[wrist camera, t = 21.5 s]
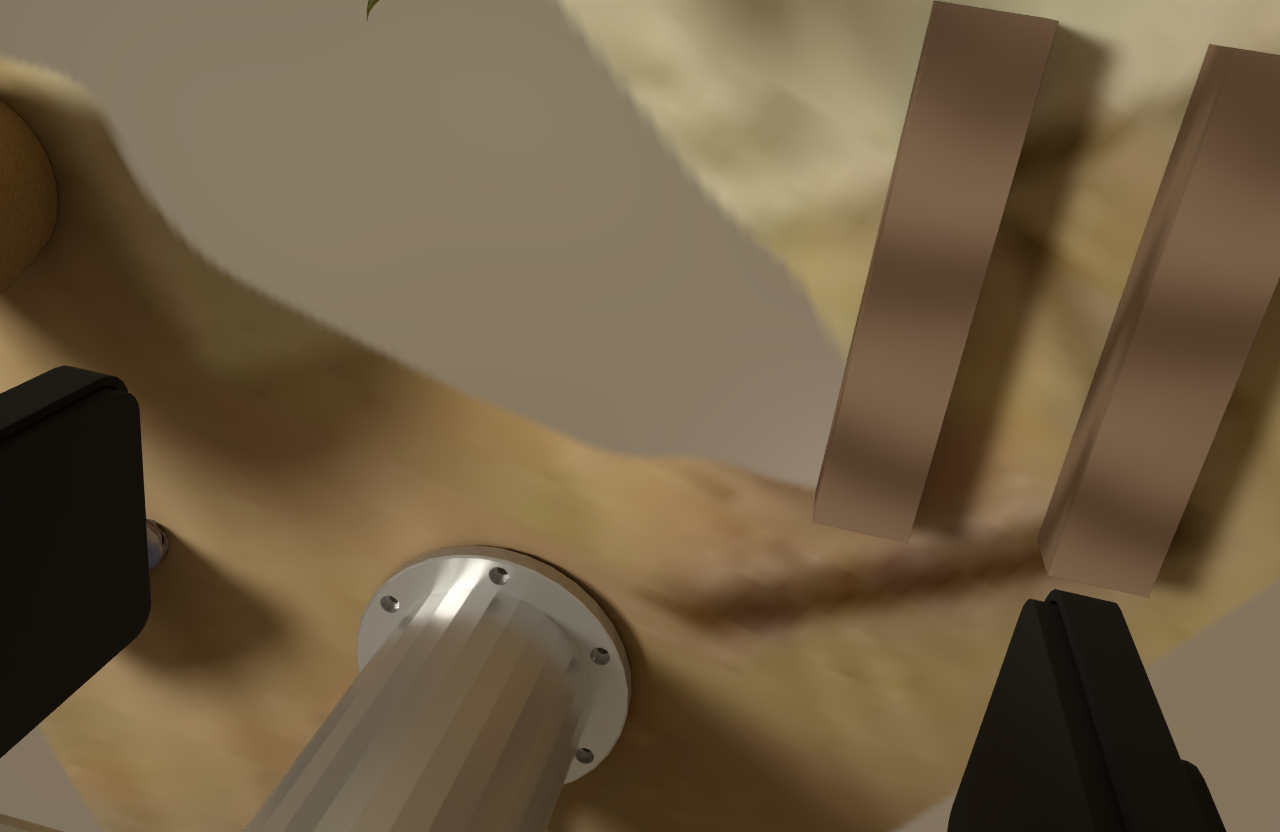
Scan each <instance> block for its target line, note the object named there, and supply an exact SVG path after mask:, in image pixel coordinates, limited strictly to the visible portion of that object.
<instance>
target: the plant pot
mask: <svg viewBox="0 0 1280 832" xmlns="http://www.w3.org/2000/svg"><path fill="white" fill-rule="evenodd" d="M57 206H58V197H57V187H56V182H55V177H54V174H53V170H52V167H51V164H50V162H49V159H48V157H47V155H46V153H45V151H44V149H43V147H42V145H41V143H40V142H39V140H38V139H37V137H36V136H35V134H34V133H33V131H32V130H31V129H30V127H29V126H28V125H27V124H26V123H25V122H24V121H23V120H22V119H21V118H20V117H19V116H18V115H17V114H16V113H15V112H14V111H13V110H12V109H10V108H9V107H8V106H7V105H5V104H4V103H3V102H1V101H0V294H1V293H2V292H3V291H4V290H5V289H6V288H7V287H8V286H9V285H10V284H11V283H12V282H13V281H14V280H15V279H16V278H17V277H18V276H19V275H20V274H21V273H22V272H23V270H24V269H25V268H26V267H27V266H28V265H29V264H30V263H31V262H32V261H33V259H34V258H35V257H36V256H37V255H38V254H39V252H40V251H41V250H42V249H43V247H44V246H45V245H46V243H47V242H48V240H49V238H50V236H51V234H52V231H53V229H54V226H55V222H56V217H57Z"/></svg>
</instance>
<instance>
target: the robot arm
mask: <svg viewBox="0 0 1280 832" xmlns="http://www.w3.org/2000/svg"><path fill="white" fill-rule="evenodd" d="M150 607H151V596H150V579H149V562H148V545H147V528H146V511H145V494H144V478H143V461H142V444H141V427H140V411H139V405H138V402H137V400H136V398H135V397H134V396H133V395H132V394H130V393H128V390H127V388H126V386H125V384H124V382H123V381H122V380H120V379H119V378H118V377H115V376H111V375H106V374H102V373H97V372H93V371H89V370H84V369H80V368H75V367H70V366H65V365H64V366H60V367H57V368H54V369H52V370H50V371H48V372H46V373H43V374H41V375H39V376H37V377H35V378H33V379H31V380H29V381H26V382H24V383H22V384H20V385H18V386H16V387H14V388H12V389H9V390H7V391H5V392H3V393H1V394H0V758H1V757H2V756H3V755H5V754H6V753H7V752H8V751H9V750H10V749H11V748H12V747H14V745H16V744H17V743H18V742H19V741H20V740H21V739H22V738H24V737H25V736H26V735H27V734H28V733H29V732H30V731H32V730H33V729H34V728H35V727H36V726H37V725H38V724H39V723H41V722H42V721H43V720H44V719H45V718H46V717H47V716H48V715H50V714H51V713H52V712H53V711H54V710H55V709H56V708H57V707H59V706H60V705H61V704H62V703H63V702H64V701H65V700H66V699H68V698H69V697H70V696H71V695H72V694H73V693H74V692H75V691H76V690H78V689H79V688H80V687H81V686H82V685H83V684H84V683H85V682H87V681H88V680H89V679H90V678H91V677H92V676H93V675H94V674H96V673H97V672H98V671H99V670H100V669H101V668H102V667H103V666H105V665H106V664H107V663H108V662H109V661H110V660H111V659H112V658H114V657H115V656H116V655H117V654H118V653H119V652H120V651H121V650H123V649H124V648H125V647H126V646H127V645H128V644H129V643H130V642H132V641H133V640H134V639H135V638H136V637H137V636H138V635H139V633H140V632H141V631H142V629H143V627H144V626H145V624H146V621H147V619H148V616H149V612H150ZM356 659H357V664H358V670H359V675H358V676H357V678H356V679H355V680H354V682H353V683H352V684H351V686H350V687H349V689H348V690H347V691H346V693H345V694H344V695H343V697H342V698H341V699H340V701H339V702H338V703H337V705H336V706H335V707H334V709H333V710H332V712H331V713H330V714H329V716H328V717H327V718H326V720H325V721H324V722H323V724H322V725H321V726H320V728H319V729H318V730H317V732H316V733H315V734H314V736H313V737H312V739H311V740H310V741H309V743H308V744H307V745H306V747H305V748H304V749H303V751H302V752H301V753H300V755H299V756H298V757H297V759H296V760H295V761H294V763H293V764H292V766H291V767H290V768H289V770H288V771H287V772H286V774H285V775H284V776H283V778H282V779H281V780H280V782H279V783H278V784H277V786H276V787H275V789H274V790H273V791H272V793H271V794H270V795H269V797H268V798H267V799H266V801H265V802H264V803H263V805H262V806H261V807H260V809H259V810H258V811H257V813H256V814H255V816H254V817H253V818H252V820H251V821H250V822H249V824H248V825H247V826H246V828H245V829H244V830H243V832H546V829H547V827H548V824H549V821H550V819H551V816H552V814H553V811H554V808H555V806H556V803H557V801H558V798H559V795H560V793H561V790H562V788H563V785H566V784H568V783H571V782H573V781H576V780H578V779H579V778H581V777H582V776H584V775H586V774H587V773H589V772H590V771H592V770H593V769H595V768H596V767H597V766H598V765H599V764H600V763H601V762H602V761H603V760H604V759H605V758H606V757H607V756H608V755H609V754H610V752H611V750H612V749H613V747H614V745H615V744H616V742H617V740H618V738H619V737H620V735H621V732H622V729H623V726H624V724H625V721H626V718H627V715H628V711H629V705H630V699H631V694H632V688H631V670H630V666H629V662H628V659H627V655H626V651H625V648H624V645H623V643H622V641H621V639H620V637H619V635H618V633H617V631H616V629H615V627H614V625H613V623H612V622H611V621H610V619H609V618H608V617H607V615H606V614H605V613H604V611H603V610H602V609H601V607H600V606H599V605H598V603H597V602H596V601H595V600H594V599H593V598H592V597H590V596H589V595H588V594H587V593H586V592H585V591H584V590H583V589H582V588H581V587H580V586H579V585H578V584H577V583H575V582H574V581H572V580H571V579H569V578H568V577H566V576H565V575H563V574H562V573H560V572H559V571H557V570H556V569H555V568H553V567H551V566H549V565H547V564H544V563H542V562H540V561H538V560H536V559H534V558H531V557H529V556H527V555H523V554H520V553H516V552H513V551H509V550H506V549H502V548H495V547H485V546H476V545H471V546H457V547H447V548H443V549H439V550H436V551H432V552H428V553H425V554H423V555H421V556H419V557H417V558H415V559H413V560H411V561H409V562H407V563H405V564H404V565H402V566H401V567H400V568H399V569H398V570H397V571H395V572H394V573H393V574H392V575H391V576H389V577H388V578H387V579H386V581H385V582H384V583H383V584H382V585H381V587H380V588H379V589H378V590H377V591H376V593H375V594H374V595H373V597H372V599H371V600H370V602H369V604H368V606H367V607H366V609H365V611H364V613H363V615H362V618H361V622H360V626H359V629H358V633H357V647H356ZM0 832H62V831H59V830H56V829H52V828H49V827H45V826H42V825H39V824H35V823H31V822H28V821H24V820H21V819H17V818H14V817H10V816H7V815H3V814H0ZM947 832H1226V830H1225V828H1224V825H1223V822H1222V820H1221V818H1220V815H1219V813H1218V811H1217V809H1216V806H1215V803H1214V801H1213V799H1212V796H1211V794H1210V791H1209V789H1208V787H1207V784H1206V782H1205V780H1204V778H1203V776H1202V775H1201V773H1200V772H1199V770H1198V768H1197V767H1196V766H1195V765H1193V764H1191V763H1190V762H1188V761H1185V760H1181V759H1180V756H1179V754H1178V751H1177V749H1176V746H1175V744H1174V741H1173V739H1172V736H1171V734H1170V731H1169V729H1168V726H1167V724H1166V721H1165V719H1164V716H1163V714H1162V711H1161V709H1160V707H1159V704H1158V701H1157V699H1156V696H1155V694H1154V691H1153V689H1152V686H1151V684H1150V682H1149V679H1148V676H1147V674H1146V671H1145V669H1144V666H1143V664H1142V661H1141V659H1140V656H1139V654H1138V651H1137V649H1136V646H1135V644H1134V641H1133V639H1132V636H1131V634H1130V631H1129V629H1128V626H1127V624H1126V621H1125V619H1124V616H1123V614H1122V611H1121V609H1120V608H1119V606H1118V605H1117V603H1114V602H1110V601H1105V600H1101V599H1096V598H1092V597H1088V596H1083V595H1079V594H1074V593H1070V592H1065V591H1061V590H1057V589H1054V590H1053V591H1051V592H1050V593H1049V595H1048V596H1047V598H1046V599H1045V602H1042V601H1038V600H1033V599H1029V600H1027V601H1026V603H1025V604H1024V606H1023V608H1022V611H1021V613H1020V616H1019V619H1018V622H1017V624H1016V627H1015V630H1014V633H1013V636H1012V639H1011V641H1010V644H1009V647H1008V650H1007V653H1006V656H1005V658H1004V661H1003V664H1002V667H1001V670H1000V673H999V676H998V678H997V681H996V684H995V687H994V690H993V693H992V695H991V698H990V701H989V704H988V707H987V710H986V713H985V715H984V718H983V721H982V724H981V727H980V730H979V732H978V735H977V738H976V741H975V744H974V747H973V749H972V752H971V755H970V758H969V761H968V764H967V767H966V769H965V772H964V775H963V778H962V781H961V784H960V786H959V789H958V792H957V795H956V798H955V801H954V804H953V806H952V810H951V813H950V818H949V823H948V831H947Z"/></svg>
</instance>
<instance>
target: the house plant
mask: <svg viewBox="0 0 1280 832" xmlns="http://www.w3.org/2000/svg"><path fill="white" fill-rule="evenodd" d="M378 1H379V0H368V7H367V19H368V15H369V12H370V10H371V9H372V8H373V6H374V5H375V4H376V3H377V2H378Z"/></svg>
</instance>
